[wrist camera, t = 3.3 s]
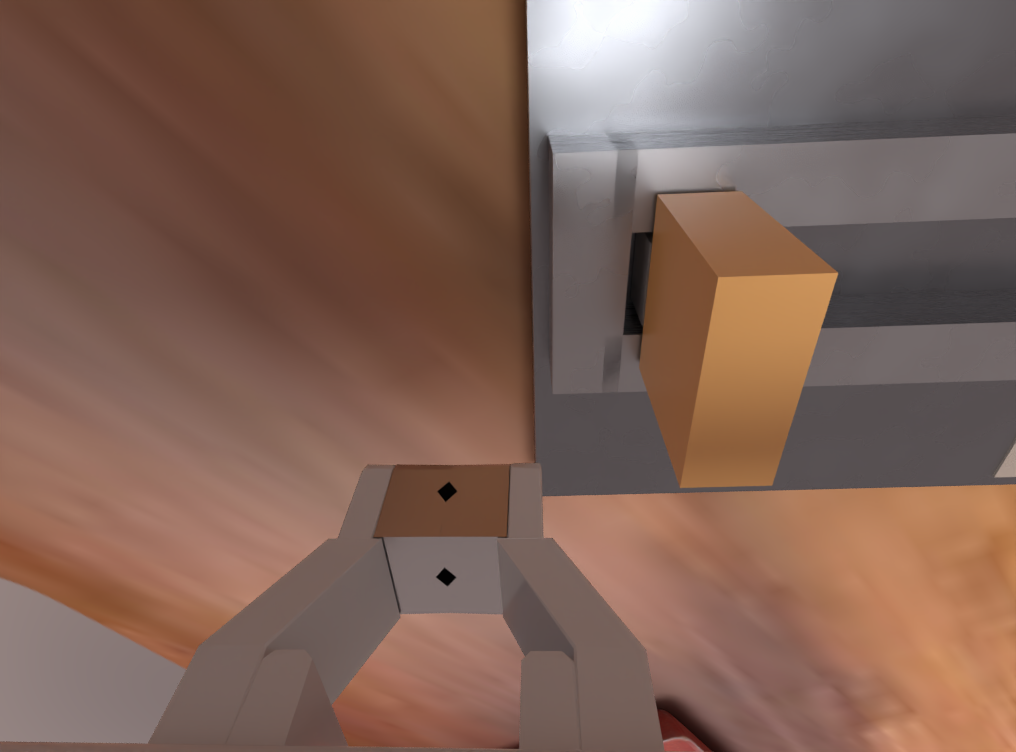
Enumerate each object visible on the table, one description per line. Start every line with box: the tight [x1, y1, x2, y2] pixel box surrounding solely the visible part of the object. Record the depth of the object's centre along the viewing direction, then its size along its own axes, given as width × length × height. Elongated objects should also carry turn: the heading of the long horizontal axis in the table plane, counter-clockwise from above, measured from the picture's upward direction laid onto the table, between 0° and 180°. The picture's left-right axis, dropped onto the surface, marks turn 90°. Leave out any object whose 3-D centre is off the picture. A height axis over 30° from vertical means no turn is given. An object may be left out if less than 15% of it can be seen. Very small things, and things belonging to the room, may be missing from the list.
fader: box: [631, 191, 838, 488], centre depth 14 cm, size 2×5×7 cm, turn 3°
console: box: [525, 0, 1016, 496], centre depth 16 cm, size 28×20×4 cm
